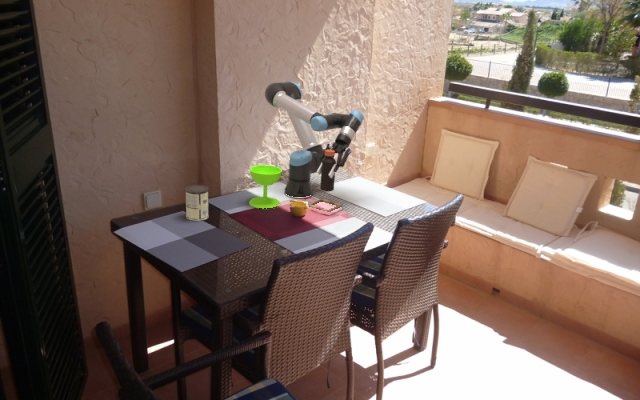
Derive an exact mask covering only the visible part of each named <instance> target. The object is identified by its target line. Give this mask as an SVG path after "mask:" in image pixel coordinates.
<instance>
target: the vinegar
mask: <svg viewBox="0 0 640 400" xmlns="http://www.w3.org/2000/svg"><path fill="white" fill-rule="evenodd" d="M335 154H336V153H335V151H334V150H331V149H330V150H325V158H324V159H323V160H322V171H321V174H320V185H319V187H320V190H321V191H323V192H333V191H334V189H335V179H336V177H335V176H336V172H335V173H334V175H333V177H332V178H330V176H329V173H330V171H331V169H332V168H333V166H334V165H335V164H336V163H337V160H336V159H335V158H334V157H335ZM336 165H337V164H336Z"/></svg>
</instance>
